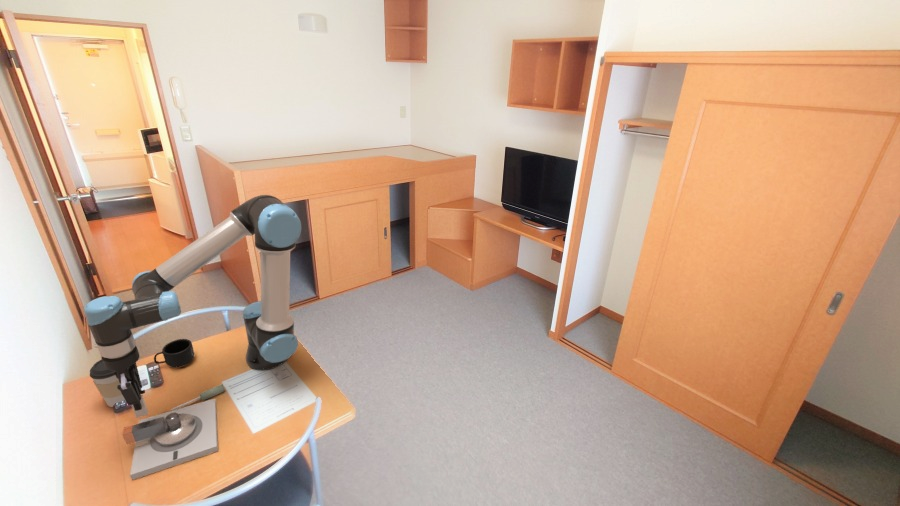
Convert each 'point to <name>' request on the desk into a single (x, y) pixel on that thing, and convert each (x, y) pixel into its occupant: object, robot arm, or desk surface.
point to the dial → (162, 430)
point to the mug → (177, 353)
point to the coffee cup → (106, 383)
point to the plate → (199, 444)
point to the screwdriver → (205, 395)
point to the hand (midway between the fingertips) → (142, 414)
